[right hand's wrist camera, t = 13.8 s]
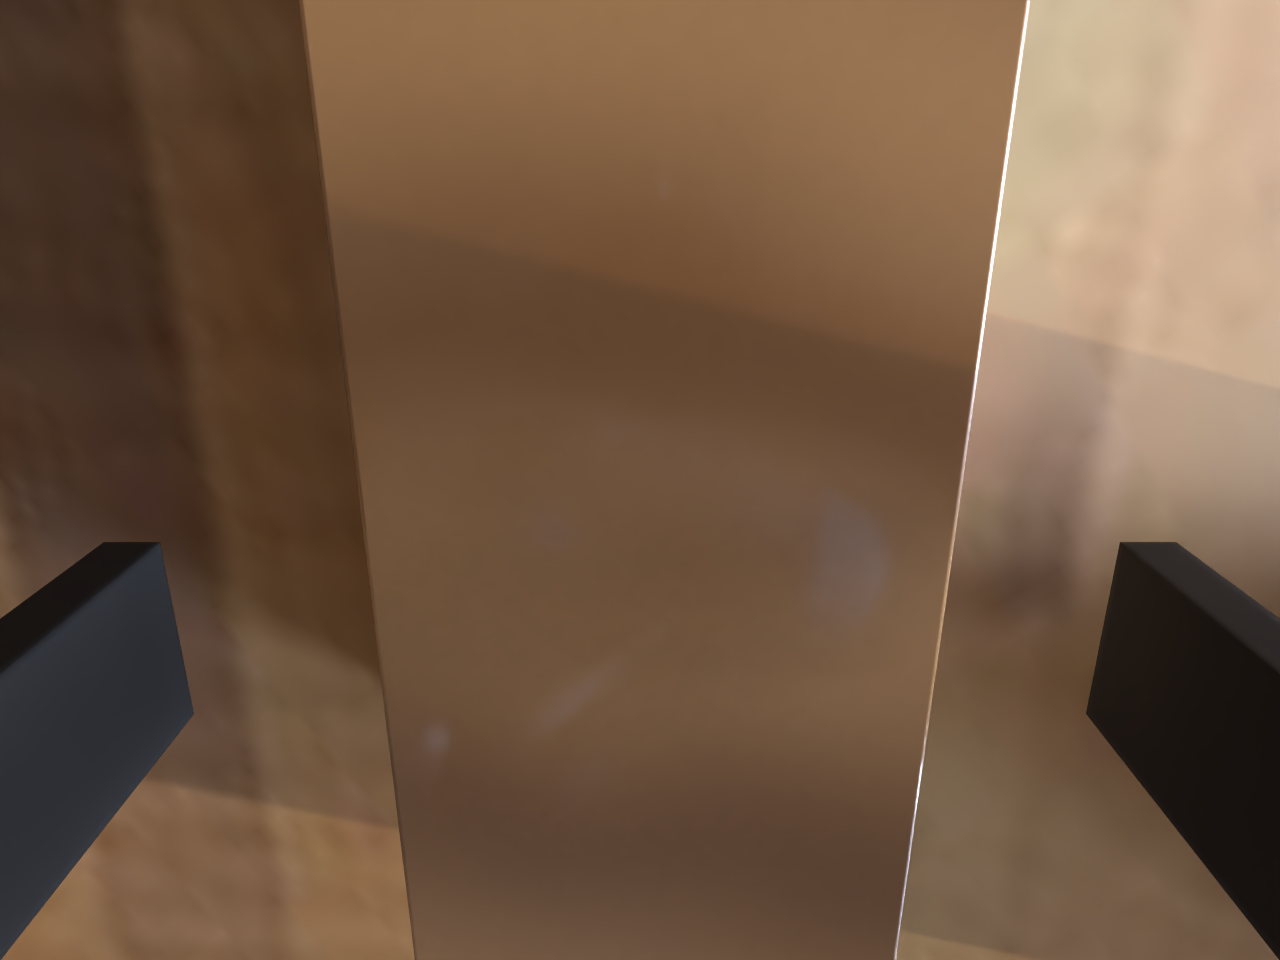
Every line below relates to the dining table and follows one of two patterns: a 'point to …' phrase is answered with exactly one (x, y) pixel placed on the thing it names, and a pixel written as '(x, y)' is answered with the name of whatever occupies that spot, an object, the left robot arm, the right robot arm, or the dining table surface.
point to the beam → (660, 446)
